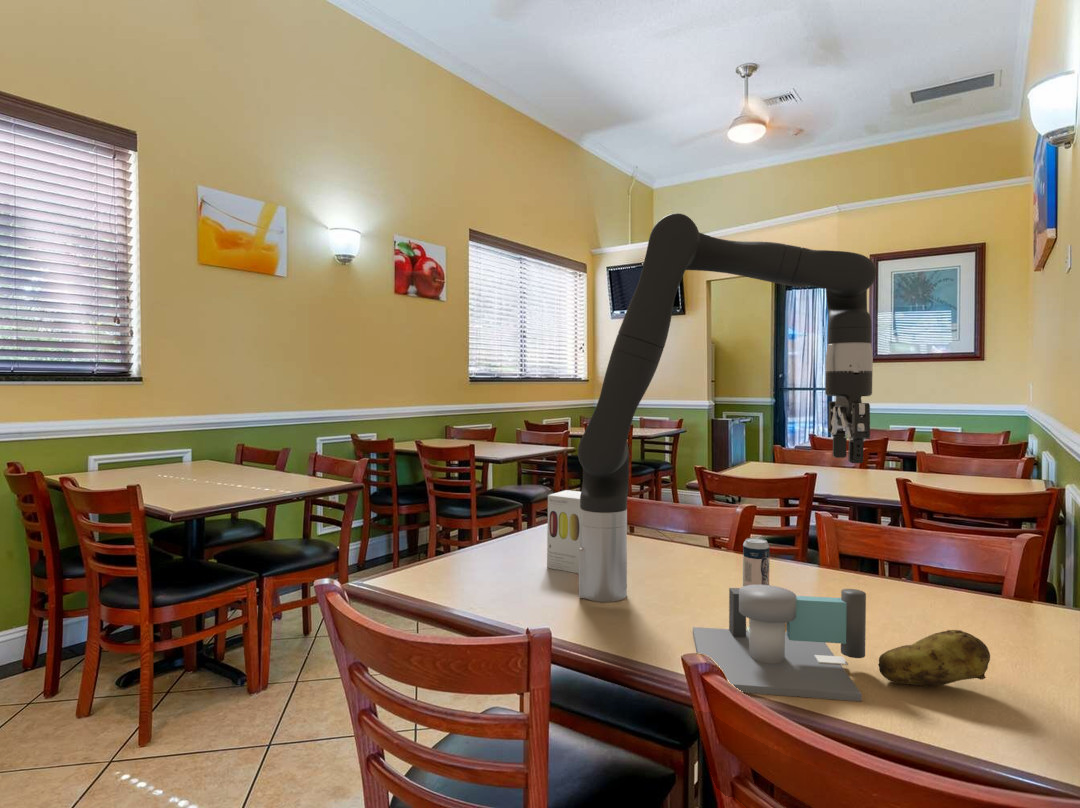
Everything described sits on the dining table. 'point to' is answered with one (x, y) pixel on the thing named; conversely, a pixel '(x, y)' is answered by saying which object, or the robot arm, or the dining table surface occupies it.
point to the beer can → (755, 562)
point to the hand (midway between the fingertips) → (847, 460)
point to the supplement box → (563, 531)
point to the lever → (810, 615)
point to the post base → (777, 674)
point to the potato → (936, 660)
